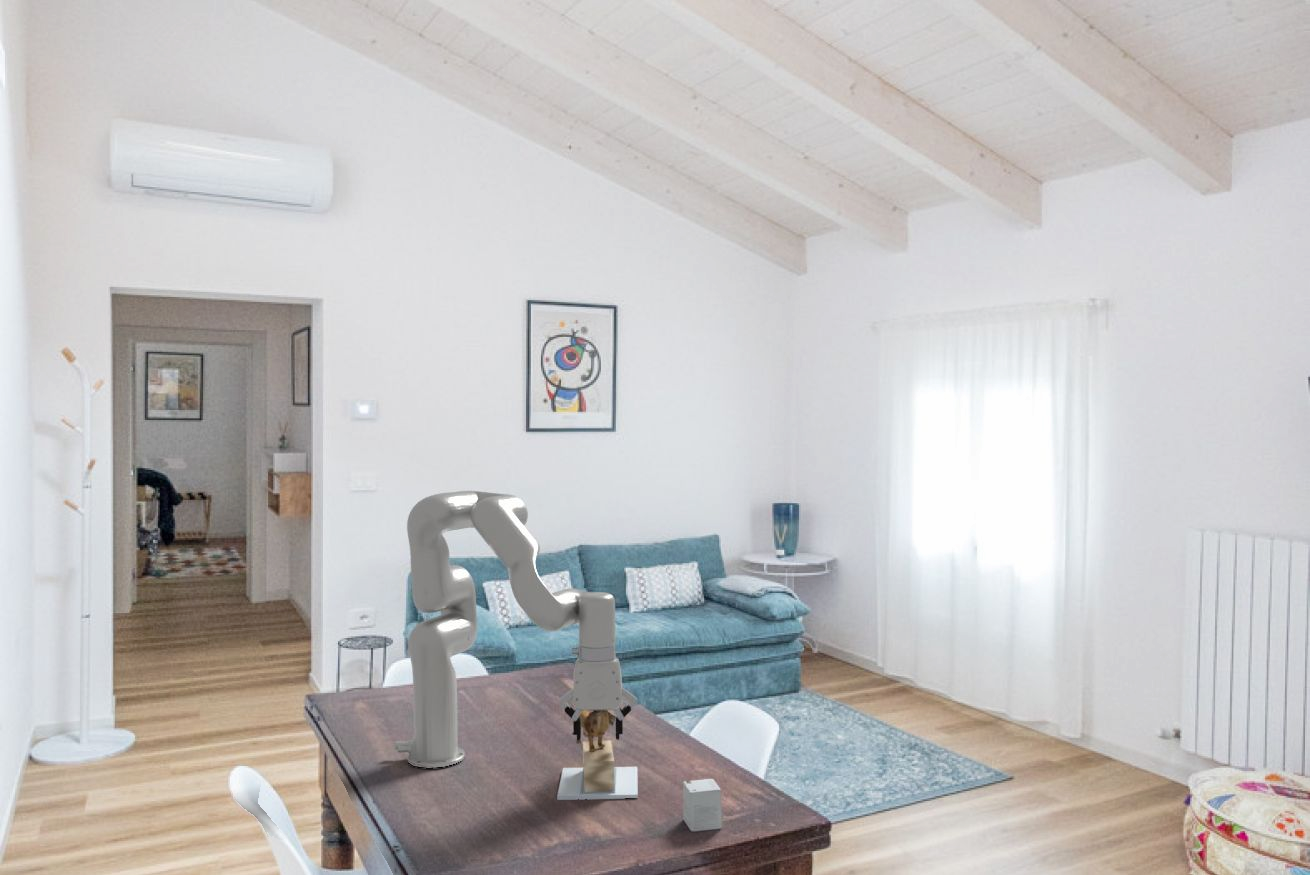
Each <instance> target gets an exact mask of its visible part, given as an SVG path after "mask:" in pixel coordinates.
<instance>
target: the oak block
mask: <svg viewBox="0 0 1310 875" xmlns="http://www.w3.org/2000/svg"><path fill="white" fill-rule="evenodd" d="M593 744H594V747H595V751H592V752H591V751H589V740H587V741H585V740H584V741H582V768H583V774H584V789H585V792H598V791H615V781H614V767H615V757H614V756H615V755H614V750H613V745H612V740H611V739H610V740H609V739H608V740H602V744H604V745H605V747H604V748H600V747H599V746H598V740H593Z"/></svg>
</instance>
